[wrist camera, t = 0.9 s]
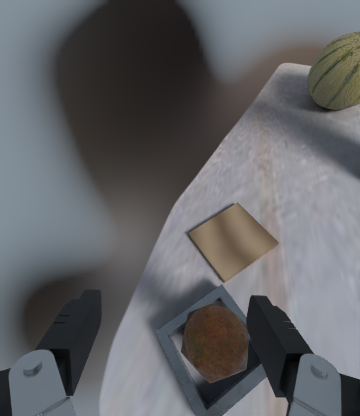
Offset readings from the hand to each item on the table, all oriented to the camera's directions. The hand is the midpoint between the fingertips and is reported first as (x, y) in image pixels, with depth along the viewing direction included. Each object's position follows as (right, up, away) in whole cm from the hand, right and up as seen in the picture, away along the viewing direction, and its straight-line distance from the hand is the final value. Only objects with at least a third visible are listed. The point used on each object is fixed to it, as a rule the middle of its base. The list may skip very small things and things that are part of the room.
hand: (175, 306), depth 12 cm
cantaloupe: (+38, +31, +44) cm, 66 cm away
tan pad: (+9, 0, +26) cm, 28 cm away
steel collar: (+5, -13, +18) cm, 23 cm away
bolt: (+5, -14, +18) cm, 23 cm away
